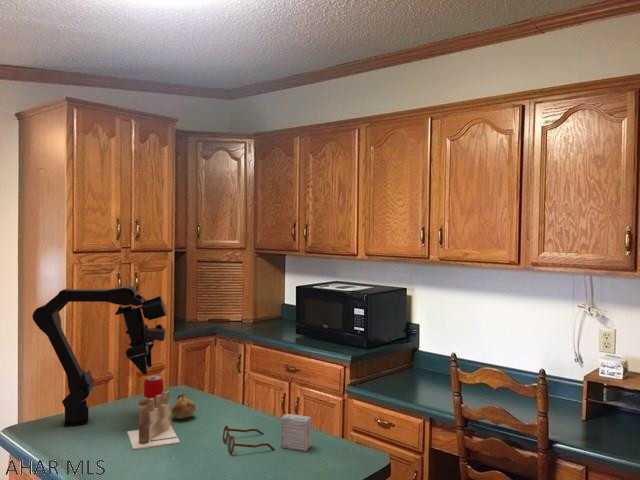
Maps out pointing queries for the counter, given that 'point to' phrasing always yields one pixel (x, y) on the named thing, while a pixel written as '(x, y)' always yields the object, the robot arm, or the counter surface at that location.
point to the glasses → (242, 444)
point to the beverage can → (153, 387)
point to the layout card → (154, 439)
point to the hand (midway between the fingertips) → (147, 370)
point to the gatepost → (144, 420)
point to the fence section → (159, 414)
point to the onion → (183, 407)
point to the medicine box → (296, 432)
